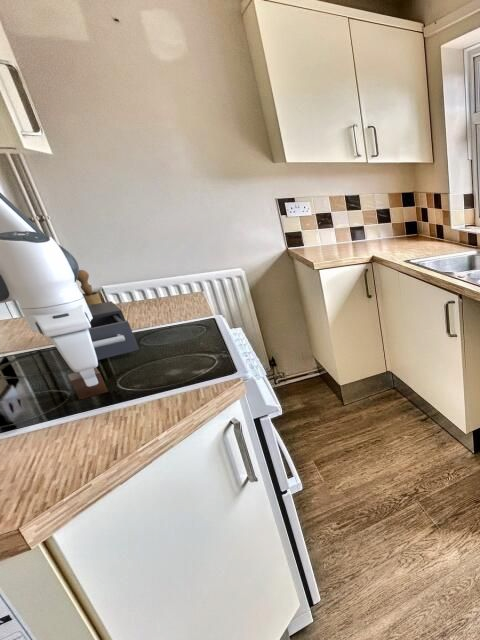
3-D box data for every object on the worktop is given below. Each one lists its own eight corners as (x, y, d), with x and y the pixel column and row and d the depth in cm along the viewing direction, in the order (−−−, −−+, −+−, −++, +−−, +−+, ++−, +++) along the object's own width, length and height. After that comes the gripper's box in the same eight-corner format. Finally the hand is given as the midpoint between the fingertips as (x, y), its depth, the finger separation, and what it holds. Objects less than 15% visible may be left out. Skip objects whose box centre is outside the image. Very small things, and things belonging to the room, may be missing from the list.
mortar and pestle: (107, 332, 124) (83, 272, 117) (83, 334, 123) (56, 273, 116) (123, 325, 130) (100, 267, 123) (99, 326, 129) (75, 268, 122)
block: (79, 400, 86) (70, 380, 85) (76, 393, 89) (67, 374, 87) (108, 391, 89) (100, 372, 88) (104, 385, 92) (96, 367, 90)
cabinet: (134, 343, 115) (121, 309, 112) (71, 358, 106) (54, 322, 103) (123, 332, 124) (111, 301, 120) (64, 345, 115) (48, 312, 111)
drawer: (143, 353, 106) (132, 324, 103) (81, 369, 98) (67, 338, 95) (128, 338, 116) (117, 312, 113) (71, 352, 108) (58, 323, 105)
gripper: (31, 310, 87) (61, 370, 92) (42, 331, 75) (75, 398, 80) (73, 303, 91) (99, 360, 97) (89, 321, 79) (118, 386, 84)
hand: (88, 378), depth 88 cm, fingers open, 8 cm apart
